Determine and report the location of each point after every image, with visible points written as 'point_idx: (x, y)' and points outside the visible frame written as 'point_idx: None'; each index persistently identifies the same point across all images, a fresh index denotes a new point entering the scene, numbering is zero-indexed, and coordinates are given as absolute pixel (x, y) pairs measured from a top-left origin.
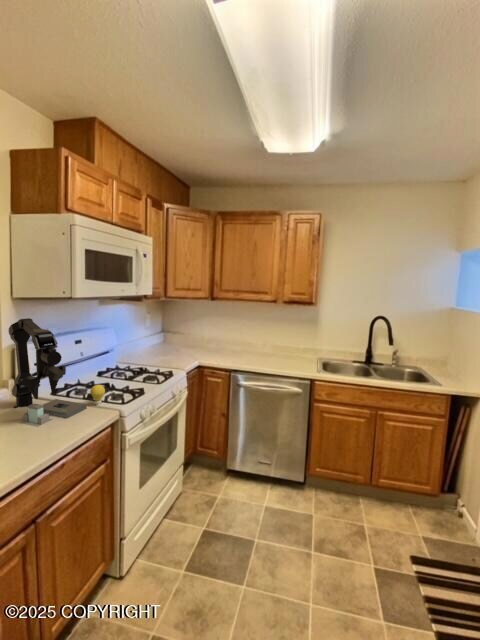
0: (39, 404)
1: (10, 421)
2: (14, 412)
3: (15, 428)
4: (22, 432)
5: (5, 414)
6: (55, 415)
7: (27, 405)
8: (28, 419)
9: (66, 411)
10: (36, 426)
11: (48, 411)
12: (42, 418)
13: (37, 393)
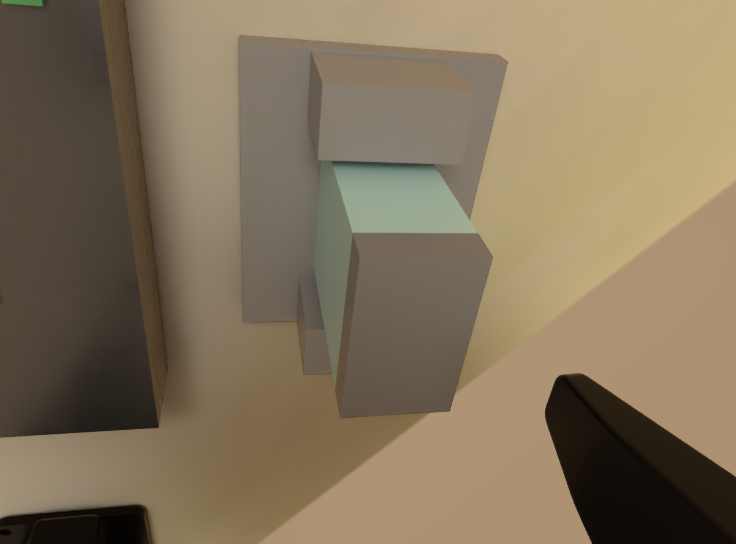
0: (353, 327)
1: None
2: (228, 507)
3: (522, 269)
4: (607, 140)
5: (288, 520)
6: (126, 96)
7: (96, 531)
8: None
9: None
10: (502, 82)
11: (136, 239)
12: (449, 84)
13: (709, 488)
